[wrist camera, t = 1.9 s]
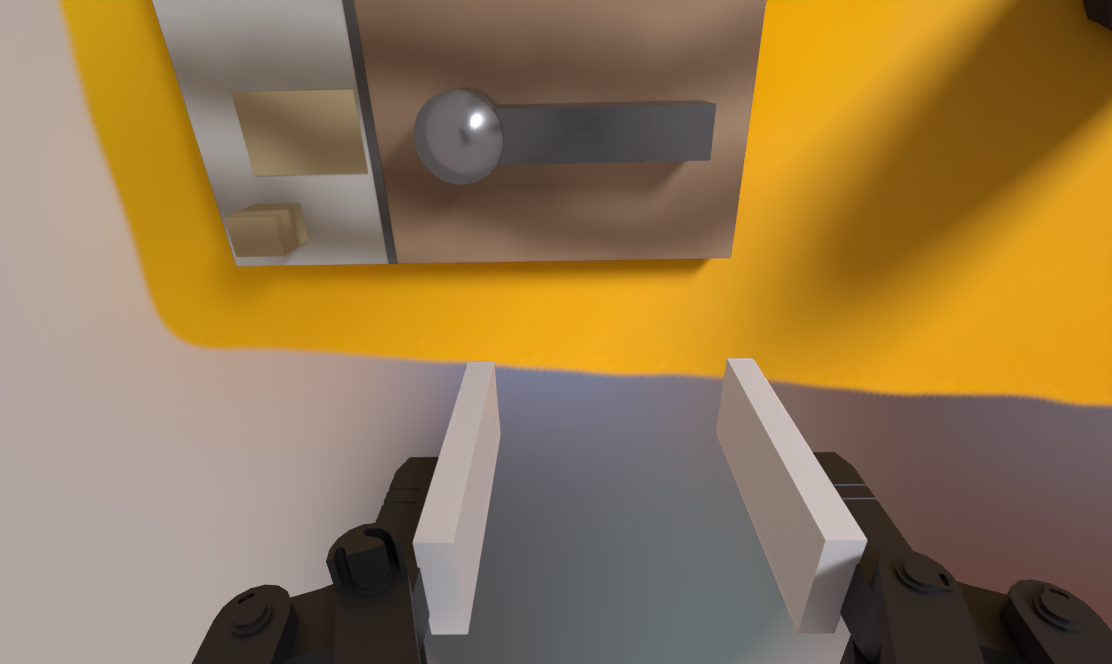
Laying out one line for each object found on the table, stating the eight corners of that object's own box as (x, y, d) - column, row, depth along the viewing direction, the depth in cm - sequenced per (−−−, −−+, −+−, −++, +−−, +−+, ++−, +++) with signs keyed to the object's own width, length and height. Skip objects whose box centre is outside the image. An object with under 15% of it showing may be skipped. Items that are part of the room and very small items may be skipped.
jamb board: (122, -190, 23) (21, -247, 18) (779, -213, 22) (831, -276, 18) (254, 254, 32) (207, 284, 28) (721, 246, 31) (746, 276, 27)
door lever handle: (433, 173, 27) (420, 185, 25) (422, 88, 25) (407, 91, 23) (696, 168, 27) (710, 179, 25) (704, 81, 25) (720, 84, 23)
